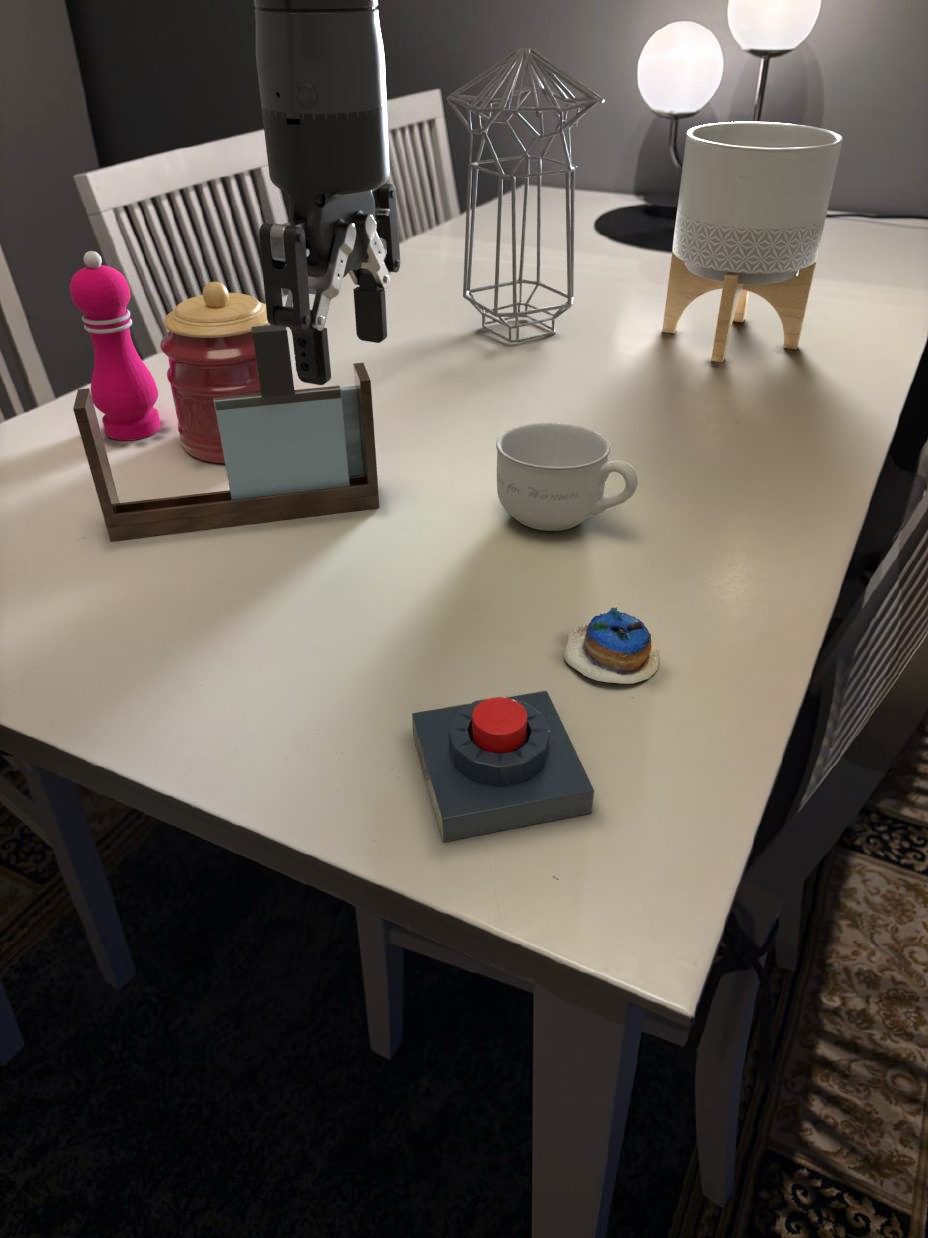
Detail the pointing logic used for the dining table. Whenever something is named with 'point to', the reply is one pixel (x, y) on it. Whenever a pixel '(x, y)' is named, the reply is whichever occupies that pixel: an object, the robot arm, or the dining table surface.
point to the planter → (750, 221)
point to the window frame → (219, 505)
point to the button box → (500, 771)
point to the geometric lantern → (532, 65)
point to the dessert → (613, 649)
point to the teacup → (557, 475)
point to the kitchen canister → (210, 361)
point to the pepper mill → (114, 353)
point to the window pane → (281, 428)
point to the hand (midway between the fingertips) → (344, 360)
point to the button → (499, 725)
